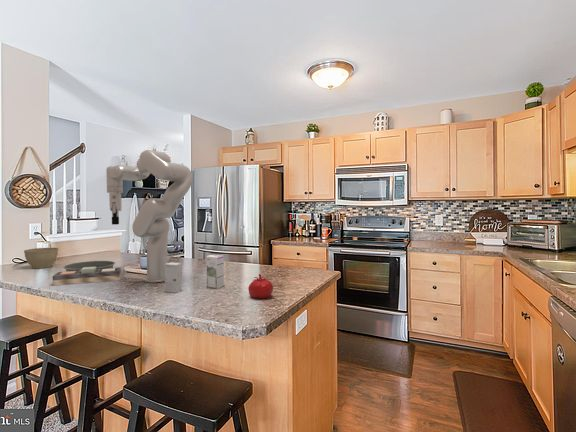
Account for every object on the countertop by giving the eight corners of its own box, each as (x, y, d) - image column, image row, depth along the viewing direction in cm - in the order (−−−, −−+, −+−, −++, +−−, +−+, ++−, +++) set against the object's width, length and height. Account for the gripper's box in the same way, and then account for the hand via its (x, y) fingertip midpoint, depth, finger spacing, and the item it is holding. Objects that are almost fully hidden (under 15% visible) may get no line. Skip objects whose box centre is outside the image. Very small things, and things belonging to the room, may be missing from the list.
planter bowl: (17, 269, 181) (16, 250, 181) (43, 264, 197) (42, 247, 197) (40, 270, 178) (40, 251, 178) (65, 265, 194) (64, 247, 194)
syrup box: (224, 286, 144) (224, 254, 143) (216, 289, 138) (216, 256, 138) (214, 284, 146) (214, 253, 146) (206, 287, 141) (206, 255, 140)
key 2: (115, 272, 161) (115, 268, 161) (114, 274, 156) (114, 270, 156) (103, 273, 159) (102, 269, 159) (101, 275, 154) (101, 271, 154)
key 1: (76, 275, 154) (76, 271, 154) (73, 277, 149) (73, 273, 149) (62, 276, 152) (62, 271, 152) (59, 278, 147) (59, 274, 147)
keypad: (120, 276, 164) (120, 267, 164) (119, 280, 155) (118, 271, 155) (58, 281, 153) (58, 271, 153) (52, 285, 144) (52, 276, 144)
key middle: (96, 270, 157) (96, 266, 157) (94, 272, 152) (94, 268, 152) (83, 271, 155) (83, 267, 155) (80, 273, 150) (80, 269, 150)
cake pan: (77, 279, 158) (77, 270, 158) (54, 273, 171) (54, 265, 170) (124, 270, 179) (124, 262, 179) (101, 266, 192) (101, 259, 191)
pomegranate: (263, 302, 120) (263, 278, 120) (243, 297, 125) (243, 275, 125) (277, 295, 129) (277, 273, 128) (258, 291, 134) (258, 270, 133)
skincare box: (164, 291, 134) (163, 263, 133) (171, 289, 138) (170, 262, 138) (176, 293, 132) (175, 264, 132) (182, 290, 136) (182, 262, 136)
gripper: (121, 189, 161) (122, 225, 161) (123, 190, 174) (124, 223, 175) (104, 189, 158) (105, 225, 158) (108, 190, 171) (109, 223, 172)
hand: (115, 224), depth 167 cm, fingers closed
